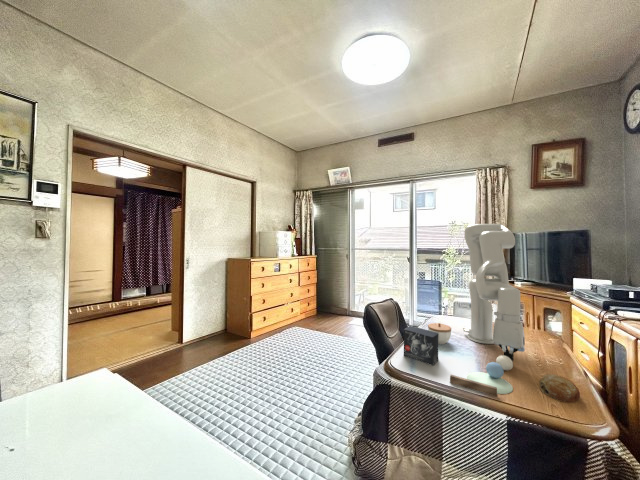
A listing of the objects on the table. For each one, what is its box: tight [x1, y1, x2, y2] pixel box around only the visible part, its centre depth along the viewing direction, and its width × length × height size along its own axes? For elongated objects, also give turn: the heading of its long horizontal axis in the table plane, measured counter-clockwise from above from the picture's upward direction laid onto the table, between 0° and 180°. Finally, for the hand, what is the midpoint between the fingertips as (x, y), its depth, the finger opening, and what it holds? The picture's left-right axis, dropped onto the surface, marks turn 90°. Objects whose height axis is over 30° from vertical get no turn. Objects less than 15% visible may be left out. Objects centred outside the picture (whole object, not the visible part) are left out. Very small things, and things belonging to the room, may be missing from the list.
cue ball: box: [495, 354, 514, 371], centre depth 104 cm, size 6×6×6 cm
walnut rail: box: [449, 374, 498, 397], centre depth 91 cm, size 14×1×2 cm, turn 54°
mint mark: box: [466, 371, 514, 395], centre depth 94 cm, size 14×14×1 cm
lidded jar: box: [427, 322, 452, 345], centre depth 132 cm, size 11×11×9 cm
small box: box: [403, 325, 439, 366], centre depth 114 cm, size 13×7×12 cm, turn 46°
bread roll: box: [539, 373, 581, 404], centre depth 88 cm, size 10×10×8 cm
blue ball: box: [485, 361, 505, 378], centre depth 98 cm, size 6×6×6 cm
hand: (508, 361), depth 107 cm, fingers closed
